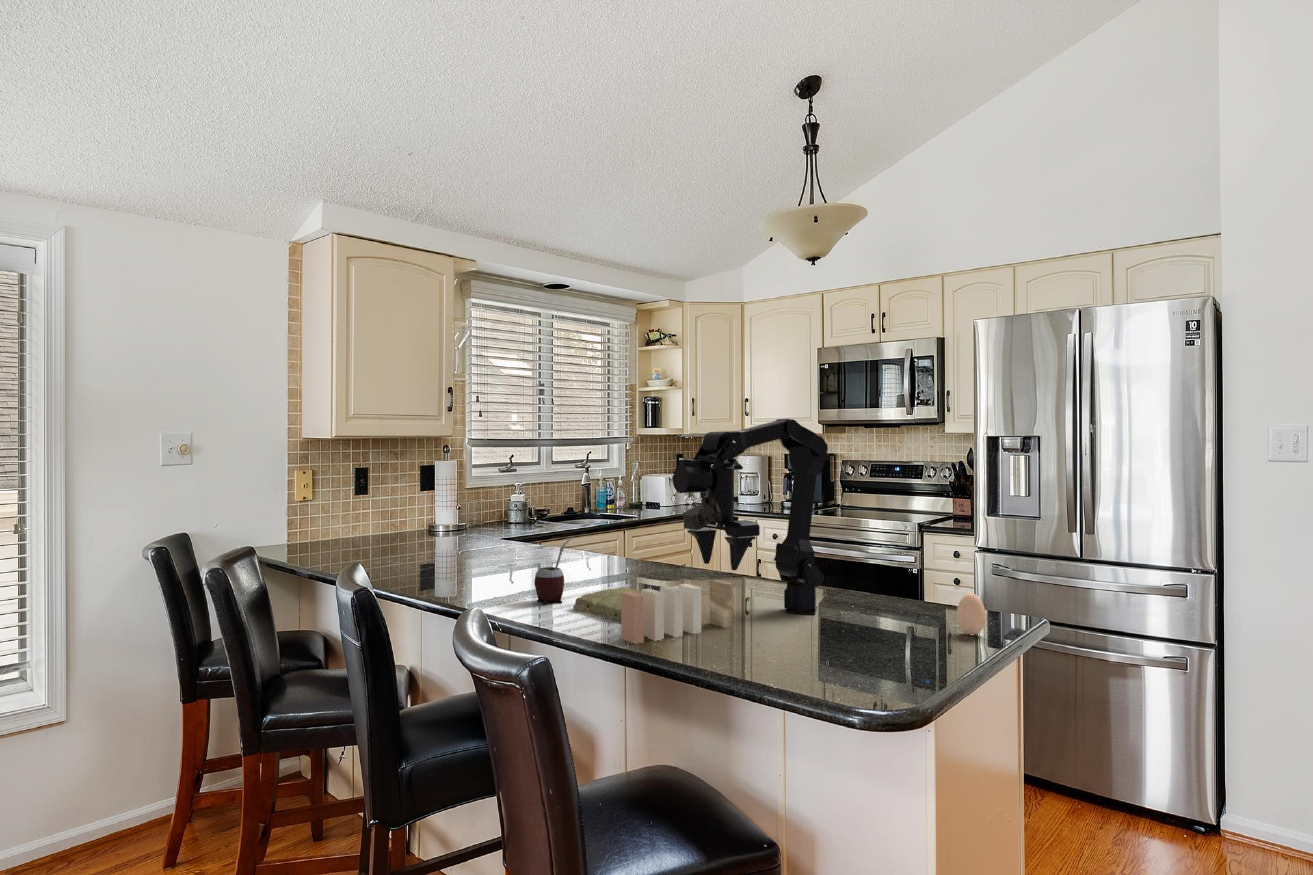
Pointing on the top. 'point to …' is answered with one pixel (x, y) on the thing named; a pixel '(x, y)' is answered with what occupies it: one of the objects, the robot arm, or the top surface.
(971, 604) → the egg
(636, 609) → the domino
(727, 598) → the domino
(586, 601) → the olive green slab
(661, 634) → the domino
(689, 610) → the domino
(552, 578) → the mate gourd
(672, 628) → the domino
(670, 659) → the top surface
